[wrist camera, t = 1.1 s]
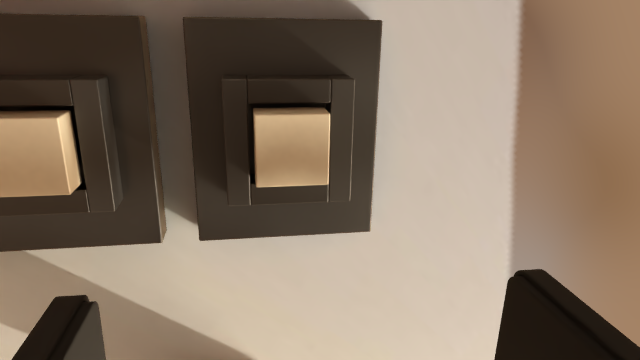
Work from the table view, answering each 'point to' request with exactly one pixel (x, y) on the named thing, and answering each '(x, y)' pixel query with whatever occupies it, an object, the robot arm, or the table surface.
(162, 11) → the table surface
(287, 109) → the key
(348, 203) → the block
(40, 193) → the key
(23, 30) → the block
